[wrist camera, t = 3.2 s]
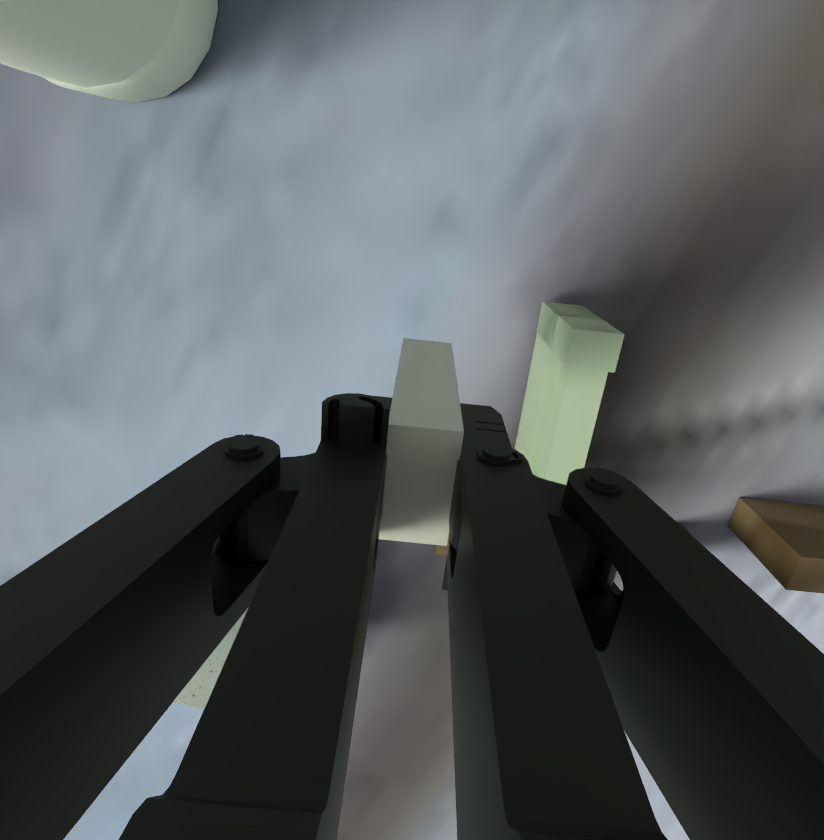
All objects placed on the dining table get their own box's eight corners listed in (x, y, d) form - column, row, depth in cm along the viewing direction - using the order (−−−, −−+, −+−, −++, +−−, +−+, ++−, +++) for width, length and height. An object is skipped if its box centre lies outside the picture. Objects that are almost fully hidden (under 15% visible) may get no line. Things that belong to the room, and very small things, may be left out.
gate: (545, 471, 27) (572, 534, 22) (510, 467, 27) (529, 530, 22) (582, 305, 24) (624, 334, 18) (542, 301, 24) (573, 329, 18)
